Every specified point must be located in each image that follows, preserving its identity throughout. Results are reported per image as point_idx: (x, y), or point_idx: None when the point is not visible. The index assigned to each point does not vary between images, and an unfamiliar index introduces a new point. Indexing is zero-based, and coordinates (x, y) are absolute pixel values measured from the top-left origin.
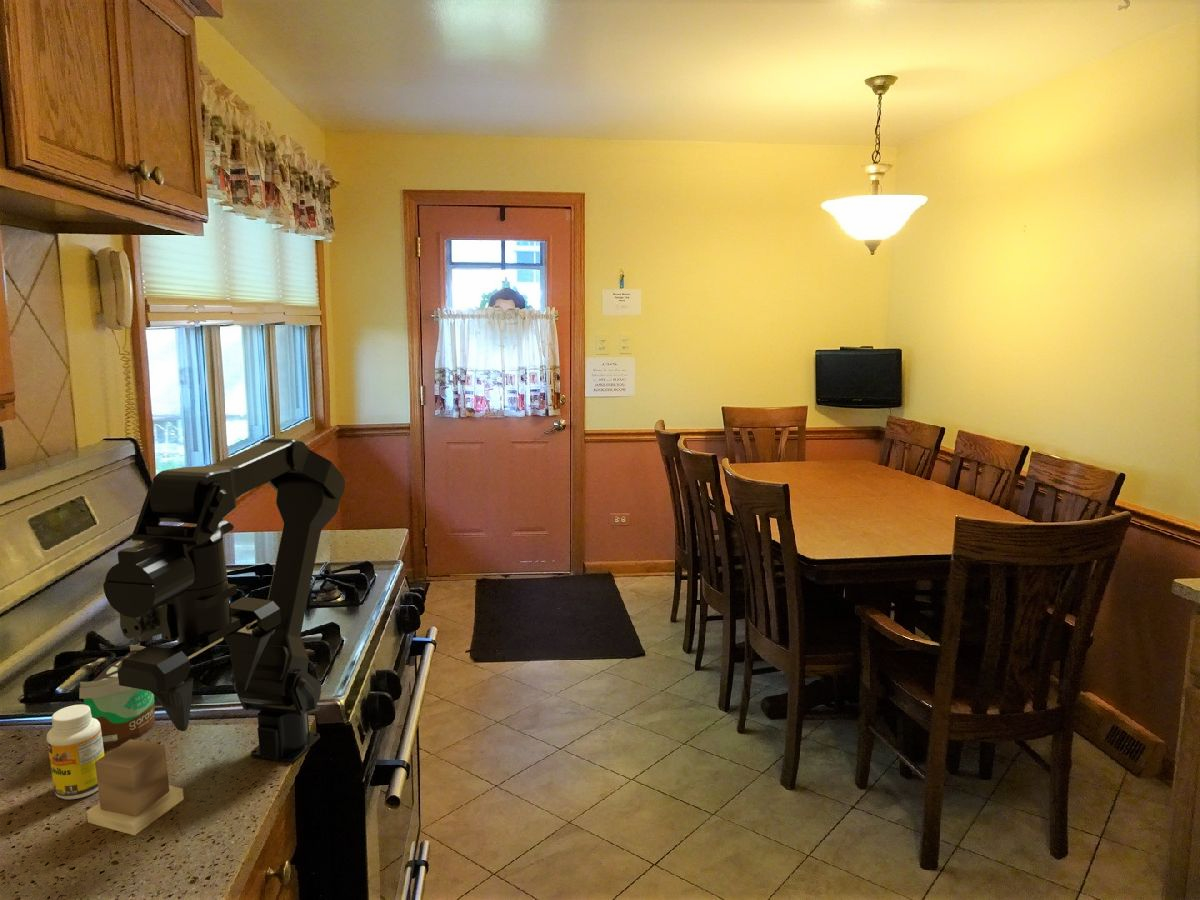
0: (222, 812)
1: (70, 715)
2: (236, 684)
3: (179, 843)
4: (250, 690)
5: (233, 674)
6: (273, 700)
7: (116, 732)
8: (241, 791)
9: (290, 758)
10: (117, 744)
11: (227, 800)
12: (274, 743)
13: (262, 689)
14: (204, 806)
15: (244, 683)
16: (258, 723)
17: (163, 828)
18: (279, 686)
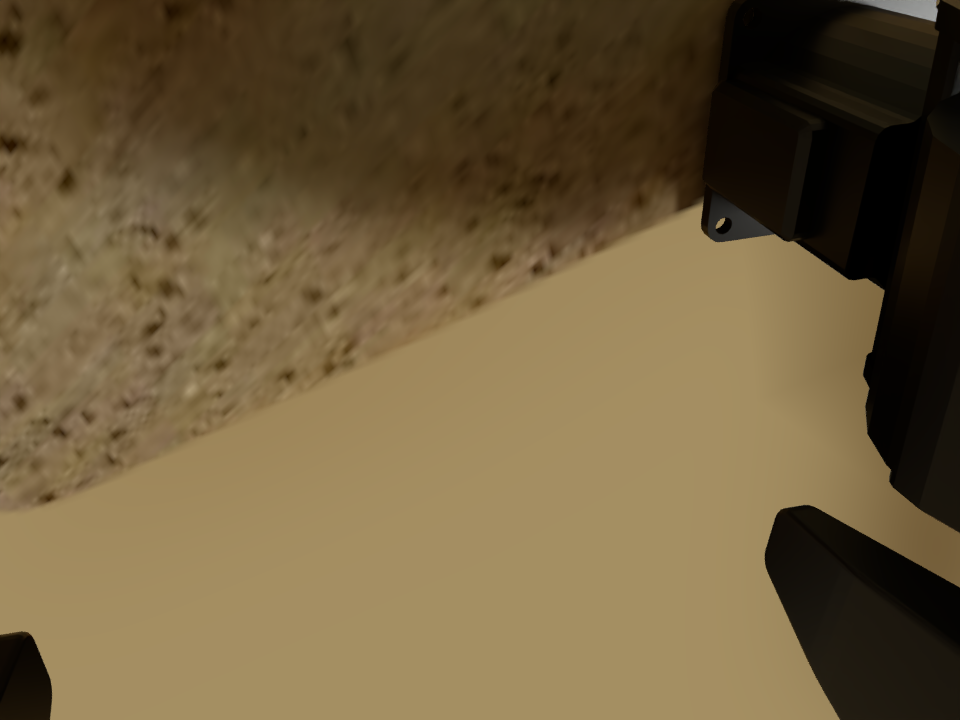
0: (318, 212)
1: None
2: (812, 550)
3: (59, 206)
4: (954, 279)
5: (892, 608)
6: (879, 389)
7: None
8: (473, 173)
9: (715, 227)
10: None
11: (397, 165)
12: (743, 204)
13: (942, 382)
14: (320, 95)
15: (804, 635)
16: (840, 118)
17: (91, 34)
18: (942, 508)
